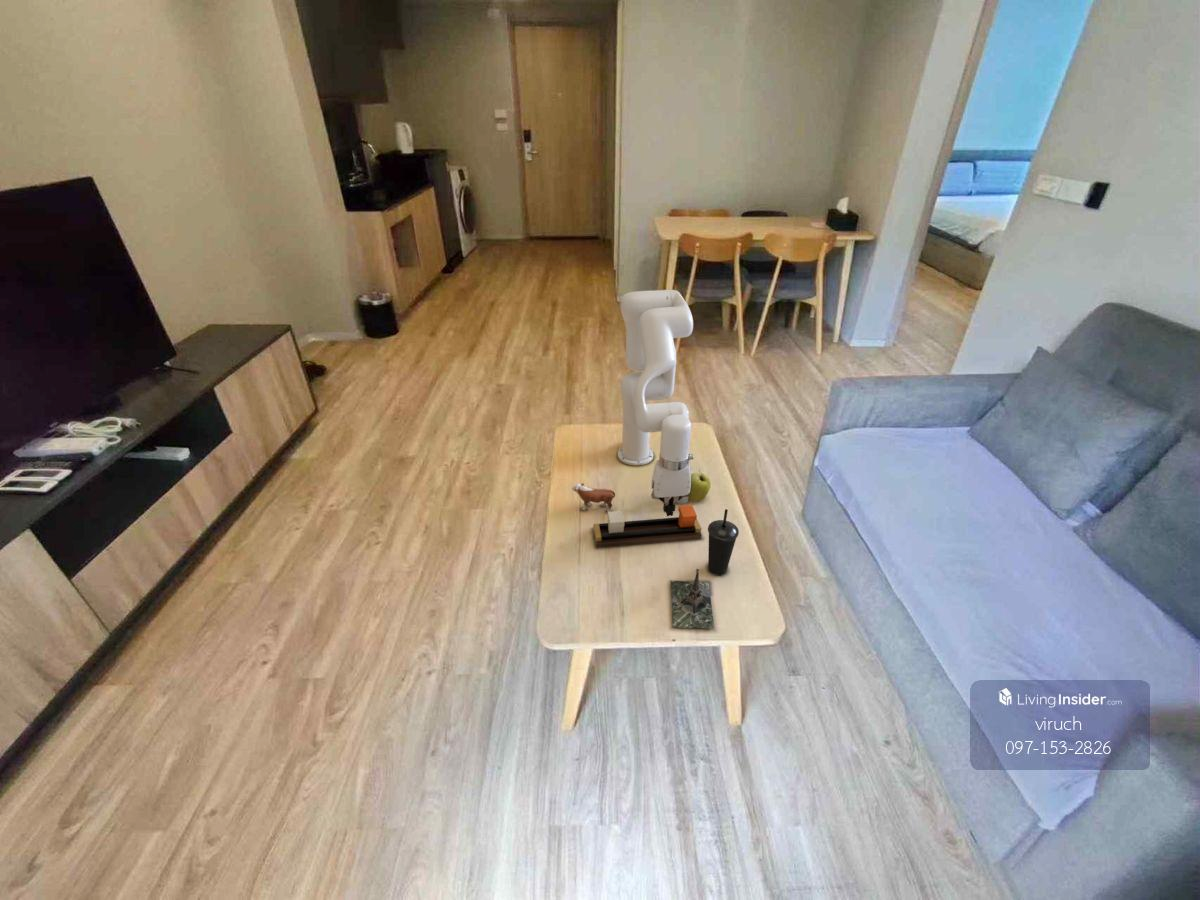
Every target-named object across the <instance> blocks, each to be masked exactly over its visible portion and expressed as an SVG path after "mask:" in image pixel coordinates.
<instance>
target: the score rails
mask: <svg viewBox="0 0 1200 900" xmlns="http://www.w3.org/2000/svg"><path fill="white" fill-rule="evenodd" d="M678 520H679V516H677V517H675V516H674V517H665V518H664V517H663V518H651V519H641V520H640V519H639V520H630V521H629V520H627V521H624V528H626V527H638V526H650V525H662V524H674V523H678ZM593 526H594V530H593V533H594V532H595V536H594V539H595V538H596V541H602V540H614V539H626V538H637V537H649V536H661V535H672V534H684V533H701V532H702V527H701V525H700V523H699V520H698V518H697V519H696V520H695V525H694V526H693V527H681V528H670V529H658V530H646V531H634V532H623V533H611V534H601V533H600V530H603V529H608V522H603V523H598V522H597V523H593ZM701 534H702V533H701Z"/></svg>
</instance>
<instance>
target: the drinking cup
mask: <svg viewBox="0 0 1200 900" xmlns="http://www.w3.org/2000/svg"><path fill="white" fill-rule="evenodd" d="M728 510H729V509H727V508H725V509H724V513H723V519H717V520H713V521H712V522H710V523H709V524H708V526H707V532H708V557H707V558H708V560H707V563H708V565H707V567H708V568H707V569H708V571H709V572H710V573H711V574H713V575H715V576H723V575H725V574H726V573H727V571H728V567H729V564H730V560H731V558H732V557H731V556H732V554H733V551H734V547H735V545H736V540H737V538H738V537H739V534H740V531H739V527H737V525H736V524H735V523H733V522H731V521H729V520H727V518H728V517H727V516H728V512H729V511H728Z"/></svg>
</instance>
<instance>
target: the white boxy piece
mask: <svg viewBox="0 0 1200 900" xmlns="http://www.w3.org/2000/svg"><path fill="white" fill-rule="evenodd" d="M624 522H625V518H624V514H623V510H611V511H609V512H607V523H608V531H609V534H611V533H623V532H624Z"/></svg>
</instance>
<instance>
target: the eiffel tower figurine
mask: <svg viewBox="0 0 1200 900" xmlns="http://www.w3.org/2000/svg"><path fill="white" fill-rule="evenodd" d="M699 575H700V568H696V570H695V577H694V581H687V580H672V579H671V580H670V600H671V625H672V627H671V628H685V629H686V628H688V629H715V622H714V613H713V607H712V606H713V605H712V598H711V590H710V589H711V588H710V583H709V582H702V581H700V582H699V577H700V576H699Z"/></svg>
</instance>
